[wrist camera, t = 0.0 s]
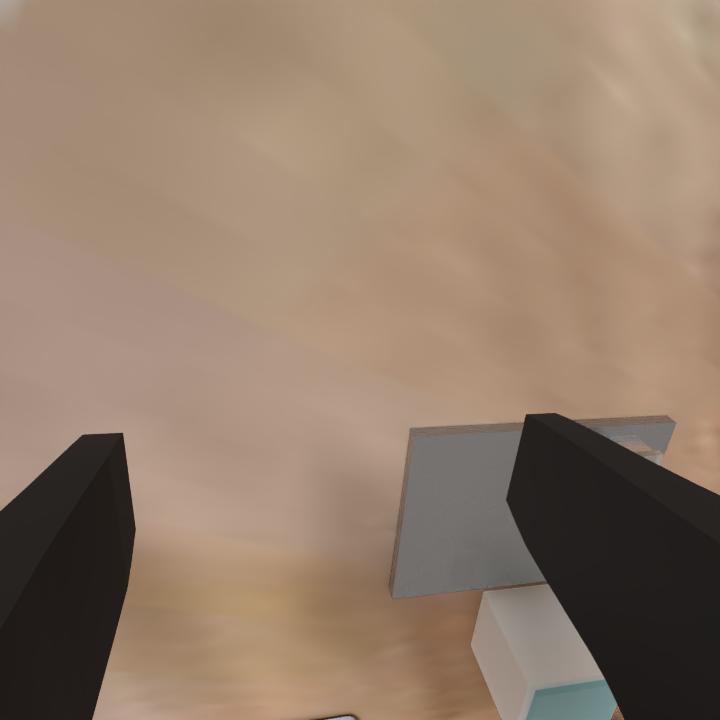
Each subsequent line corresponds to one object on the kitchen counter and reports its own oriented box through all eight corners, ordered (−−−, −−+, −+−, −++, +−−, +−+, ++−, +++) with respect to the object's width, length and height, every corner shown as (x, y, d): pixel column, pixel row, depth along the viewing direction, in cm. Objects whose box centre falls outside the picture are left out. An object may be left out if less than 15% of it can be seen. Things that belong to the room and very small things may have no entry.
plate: (612, 563, 29) (619, 572, 28) (389, 588, 26) (392, 599, 26) (666, 415, 25) (676, 422, 25) (410, 428, 23) (414, 436, 22)
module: (568, 631, 31) (626, 728, 26) (470, 644, 30) (513, 748, 25) (586, 578, 29) (652, 673, 25) (483, 590, 28) (532, 692, 23)
